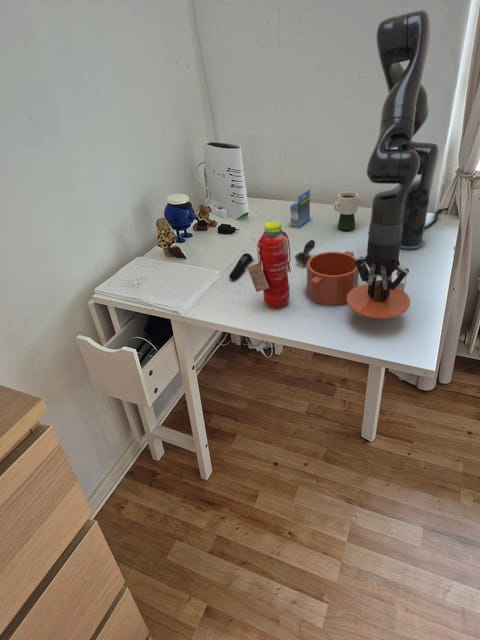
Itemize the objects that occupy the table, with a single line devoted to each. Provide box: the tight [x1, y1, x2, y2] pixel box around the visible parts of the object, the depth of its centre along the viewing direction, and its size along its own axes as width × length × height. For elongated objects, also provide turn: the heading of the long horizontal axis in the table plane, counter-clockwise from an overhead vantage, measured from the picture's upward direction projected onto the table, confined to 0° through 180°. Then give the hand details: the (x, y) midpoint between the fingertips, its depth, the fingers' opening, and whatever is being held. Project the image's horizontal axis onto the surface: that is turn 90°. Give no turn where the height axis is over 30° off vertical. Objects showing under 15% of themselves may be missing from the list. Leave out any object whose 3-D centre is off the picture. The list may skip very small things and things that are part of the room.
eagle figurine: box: [294, 239, 316, 268], centre depth 146 cm, size 8×7×9 cm
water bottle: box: [246, 220, 292, 309], centre depth 121 cm, size 12×8×25 cm, turn 107°
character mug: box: [333, 191, 362, 231], centre depth 161 cm, size 11×7×13 cm, turn 108°
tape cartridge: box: [289, 189, 311, 228], centre depth 169 cm, size 9×4×12 cm, turn 144°
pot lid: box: [346, 279, 411, 320], centre depth 113 cm, size 16×16×6 cm
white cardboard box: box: [392, 270, 408, 292], centre depth 123 cm, size 6×6×7 cm
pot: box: [306, 250, 360, 306], centre depth 128 cm, size 15×20×10 cm
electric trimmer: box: [228, 252, 253, 280], centre depth 146 cm, size 4×16×3 cm, turn 158°
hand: (377, 297), depth 114 cm, fingers closed on pot lid, 2 cm apart
